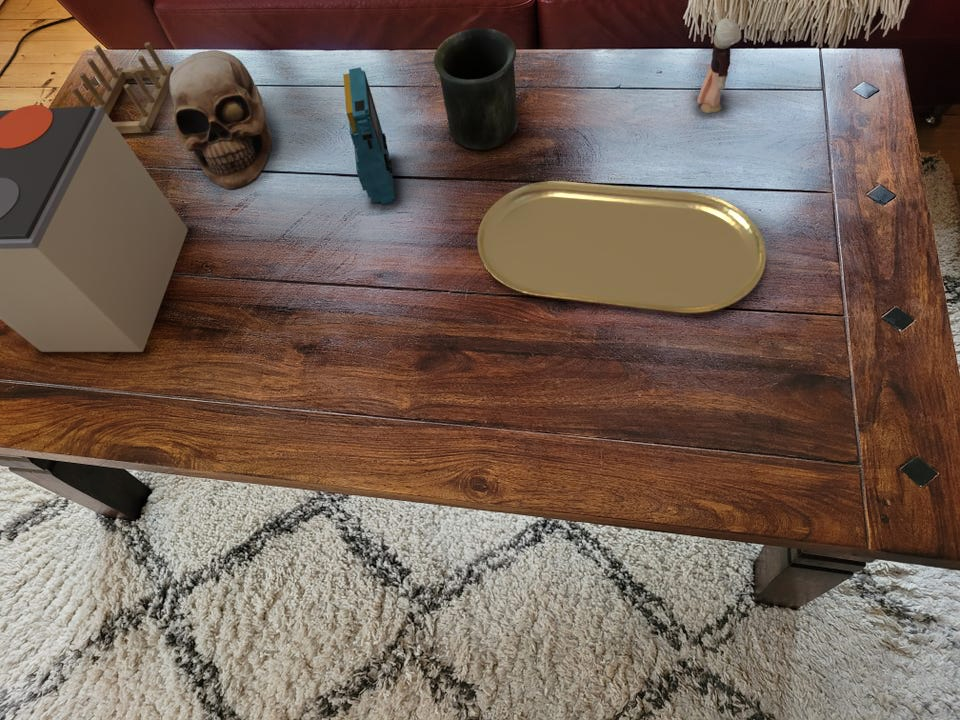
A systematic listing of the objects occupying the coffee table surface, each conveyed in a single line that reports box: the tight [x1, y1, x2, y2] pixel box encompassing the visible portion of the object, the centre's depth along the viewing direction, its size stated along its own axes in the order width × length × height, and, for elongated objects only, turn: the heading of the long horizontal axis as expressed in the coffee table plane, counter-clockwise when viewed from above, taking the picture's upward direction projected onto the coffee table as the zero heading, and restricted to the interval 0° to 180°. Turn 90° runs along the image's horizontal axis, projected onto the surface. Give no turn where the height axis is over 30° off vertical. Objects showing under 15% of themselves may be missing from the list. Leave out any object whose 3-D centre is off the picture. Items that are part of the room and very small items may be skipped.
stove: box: [0, 104, 189, 353], centre depth 82 cm, size 14×20×22 cm
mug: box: [433, 27, 519, 151], centre depth 95 cm, size 11×15×12 cm
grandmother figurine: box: [696, 17, 742, 114], centre depth 91 cm, size 8×4×13 cm, turn 3°
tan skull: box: [169, 49, 273, 190], centre depth 99 cm, size 16×17×13 cm
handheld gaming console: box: [342, 66, 396, 206], centre depth 90 cm, size 10×4×15 cm, turn 9°
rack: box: [70, 41, 175, 135], centre depth 109 cm, size 10×14×7 cm
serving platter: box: [476, 180, 767, 315], centre depth 85 cm, size 19×35×2 cm, turn 77°
